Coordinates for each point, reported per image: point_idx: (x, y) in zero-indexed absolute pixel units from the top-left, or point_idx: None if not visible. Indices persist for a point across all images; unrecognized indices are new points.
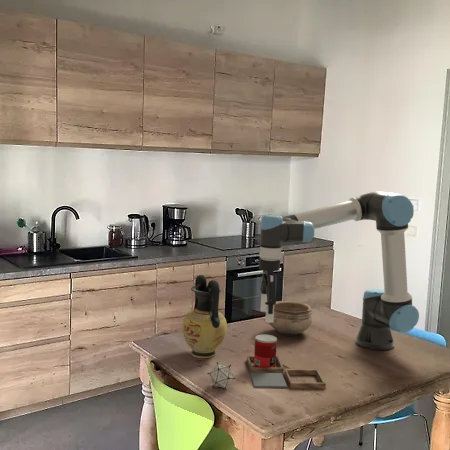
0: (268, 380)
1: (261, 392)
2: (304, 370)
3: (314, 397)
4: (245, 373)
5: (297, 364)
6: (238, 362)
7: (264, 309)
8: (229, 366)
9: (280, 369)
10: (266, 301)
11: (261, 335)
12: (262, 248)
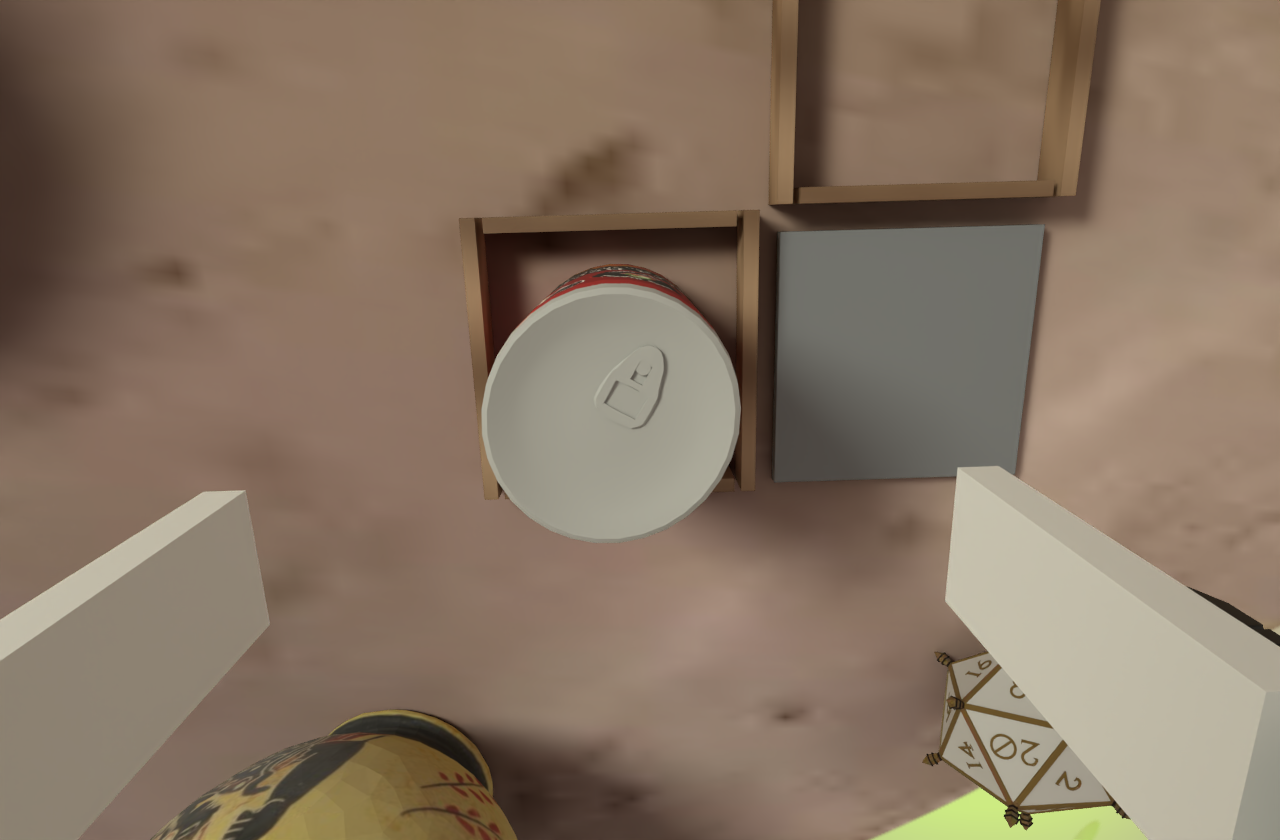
0: (929, 361)
1: (1091, 426)
2: (797, 5)
3: (1237, 19)
4: (755, 512)
5: (538, 37)
6: (539, 550)
7: (234, 575)
8: None
9: (758, 239)
10: (106, 646)
11: (514, 465)
12: None
